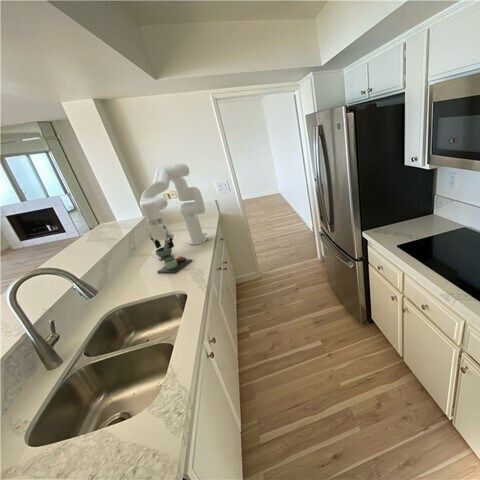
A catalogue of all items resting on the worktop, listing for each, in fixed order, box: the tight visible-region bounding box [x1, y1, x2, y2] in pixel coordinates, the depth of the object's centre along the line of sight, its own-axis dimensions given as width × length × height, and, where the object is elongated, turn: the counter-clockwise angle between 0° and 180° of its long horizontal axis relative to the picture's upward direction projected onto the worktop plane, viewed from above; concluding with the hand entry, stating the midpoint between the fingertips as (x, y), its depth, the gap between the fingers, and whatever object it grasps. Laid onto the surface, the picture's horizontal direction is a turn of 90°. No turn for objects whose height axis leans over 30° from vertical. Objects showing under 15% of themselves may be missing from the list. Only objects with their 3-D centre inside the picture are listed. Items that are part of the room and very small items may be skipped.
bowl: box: [163, 257, 178, 269], centre depth 167 cm, size 7×7×5 cm
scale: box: [157, 256, 193, 274], centre depth 170 cm, size 16×13×3 cm
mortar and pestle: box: [155, 240, 173, 261], centre depth 184 cm, size 11×9×12 cm
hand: (165, 247), depth 163 cm, fingers open, 9 cm apart
